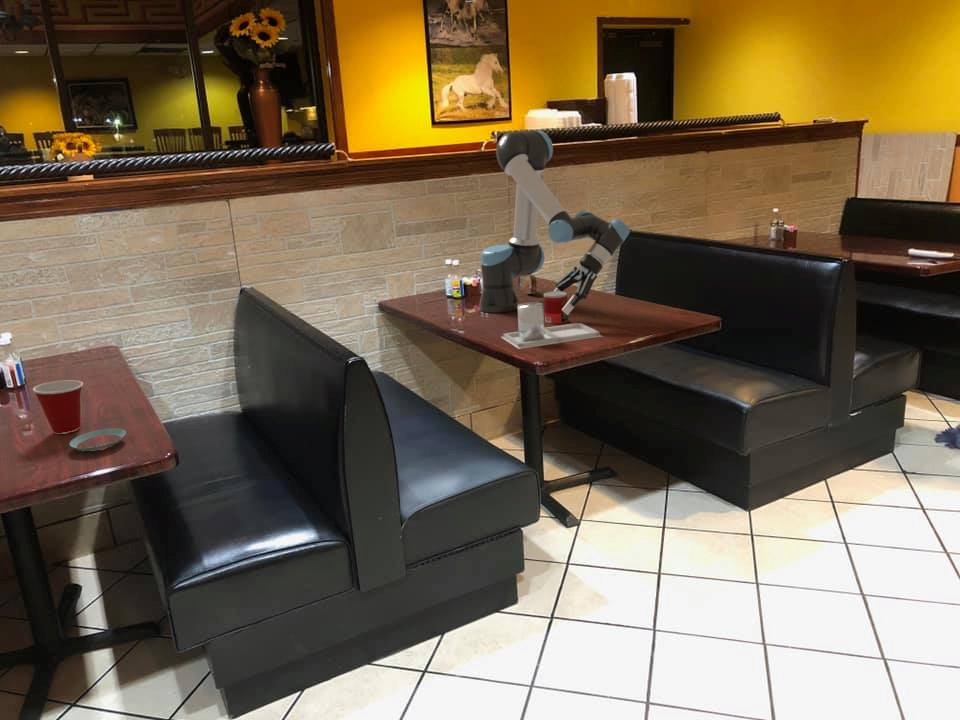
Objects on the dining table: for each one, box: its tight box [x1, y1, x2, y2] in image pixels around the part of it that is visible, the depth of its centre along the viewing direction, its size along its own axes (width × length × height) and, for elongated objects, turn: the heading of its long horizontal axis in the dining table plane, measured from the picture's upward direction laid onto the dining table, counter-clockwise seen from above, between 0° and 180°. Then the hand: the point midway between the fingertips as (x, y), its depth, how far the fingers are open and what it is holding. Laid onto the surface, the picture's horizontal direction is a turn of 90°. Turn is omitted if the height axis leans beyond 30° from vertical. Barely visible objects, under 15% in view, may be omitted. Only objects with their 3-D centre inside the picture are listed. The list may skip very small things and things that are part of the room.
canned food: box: [543, 290, 569, 325], centre depth 255 cm, size 8×8×11 cm
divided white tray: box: [500, 322, 603, 350], centre depth 237 cm, size 16×28×3 cm, turn 109°
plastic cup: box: [32, 379, 84, 433], centre depth 183 cm, size 11×11×12 cm
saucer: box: [69, 428, 127, 452], centre depth 174 cm, size 12×12×2 cm
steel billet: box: [517, 301, 545, 342], centre depth 234 cm, size 8×8×11 cm
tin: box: [517, 273, 537, 295], centre depth 309 cm, size 15×3×8 cm, turn 18°
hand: (555, 308), depth 254 cm, fingers open, 13 cm apart
